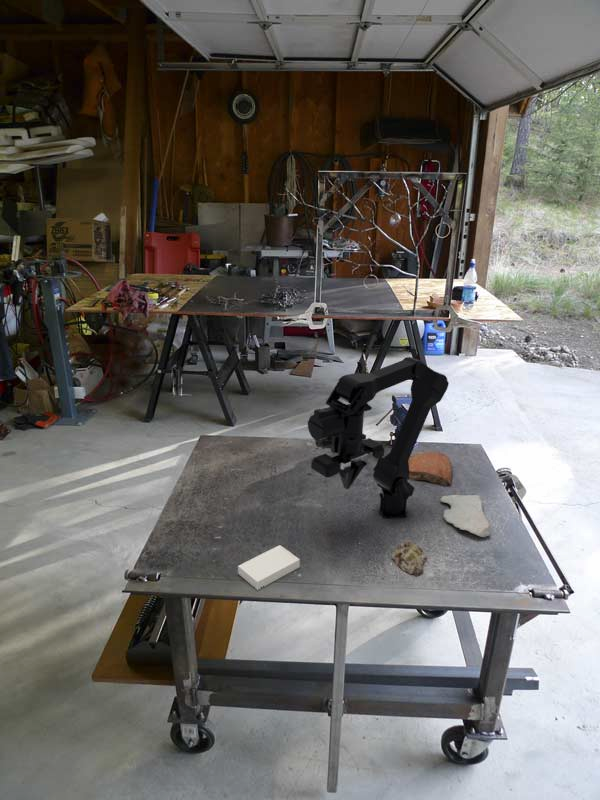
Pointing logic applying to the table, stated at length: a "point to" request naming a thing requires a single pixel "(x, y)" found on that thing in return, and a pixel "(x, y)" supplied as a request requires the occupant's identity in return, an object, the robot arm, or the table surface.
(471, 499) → the stone
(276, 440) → the table surface
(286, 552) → the tile
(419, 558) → the mineral rock
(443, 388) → the robot arm
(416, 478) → the ceramic shard
